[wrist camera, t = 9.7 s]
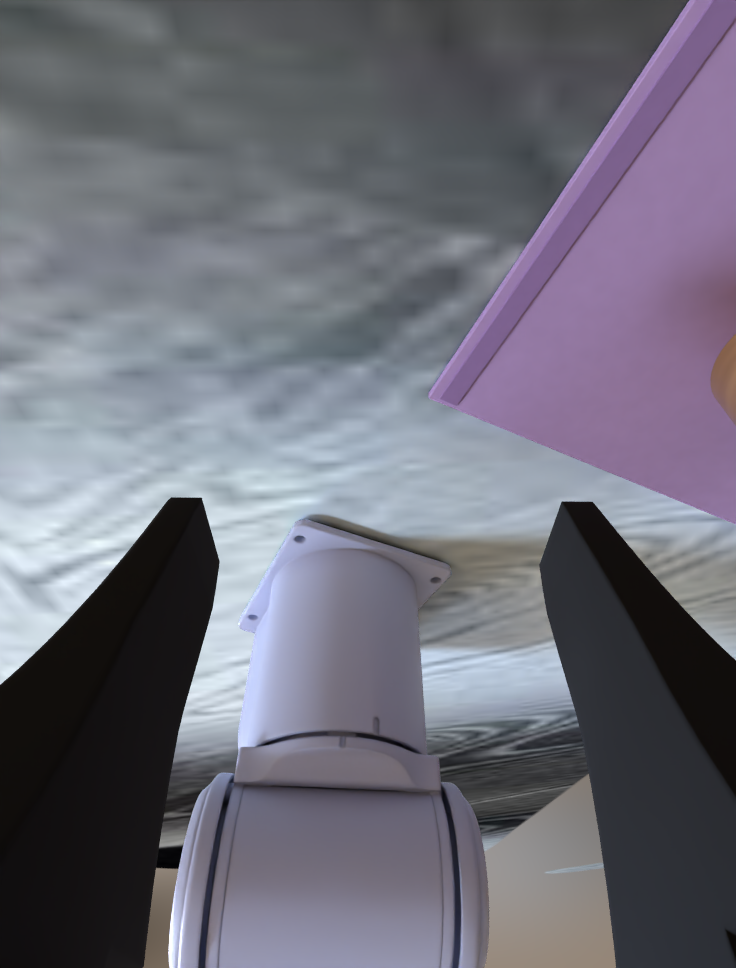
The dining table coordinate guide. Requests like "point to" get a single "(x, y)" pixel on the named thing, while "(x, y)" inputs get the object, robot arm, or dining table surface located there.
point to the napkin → (629, 287)
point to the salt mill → (726, 379)
